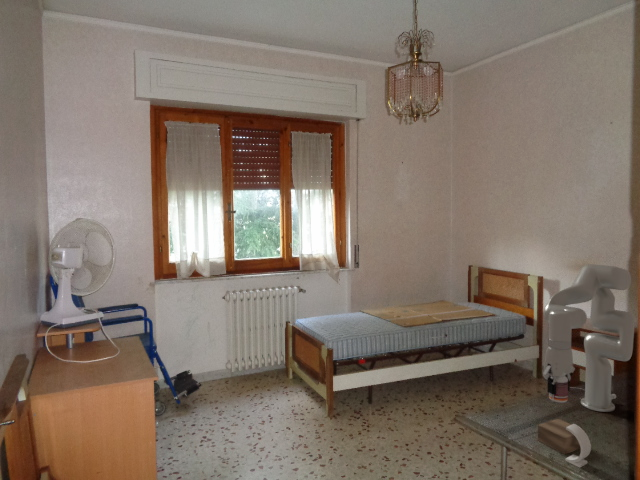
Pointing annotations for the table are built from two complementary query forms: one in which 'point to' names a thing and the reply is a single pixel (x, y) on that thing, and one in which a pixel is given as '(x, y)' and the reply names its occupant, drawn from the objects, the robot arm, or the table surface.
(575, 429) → the headphone stand
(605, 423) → the table surface
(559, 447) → the walnut block
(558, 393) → the pill bottle
